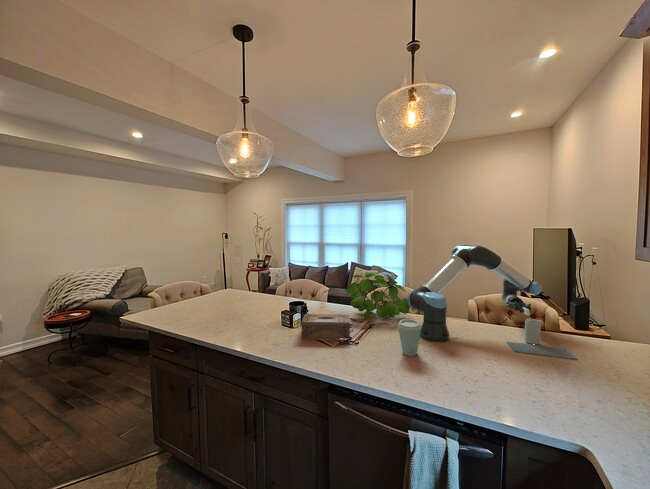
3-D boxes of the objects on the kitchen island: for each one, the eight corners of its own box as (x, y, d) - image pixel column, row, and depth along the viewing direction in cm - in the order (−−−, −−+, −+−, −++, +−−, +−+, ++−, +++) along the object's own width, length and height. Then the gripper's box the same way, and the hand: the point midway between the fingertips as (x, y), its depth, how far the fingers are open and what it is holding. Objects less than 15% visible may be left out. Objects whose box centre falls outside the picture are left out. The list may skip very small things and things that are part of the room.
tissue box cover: (301, 340, 145) (301, 321, 145) (305, 330, 159) (305, 313, 159) (349, 341, 143) (349, 322, 143) (348, 331, 158) (348, 314, 157)
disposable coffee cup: (422, 359, 122) (422, 326, 121) (398, 356, 124) (398, 324, 123) (419, 349, 132) (419, 319, 132) (396, 347, 134) (396, 317, 134)
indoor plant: (397, 296, 214) (406, 265, 199) (406, 337, 178) (419, 303, 163) (342, 289, 215) (348, 257, 200) (341, 329, 179) (347, 294, 164)
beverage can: (525, 344, 138) (526, 320, 137) (523, 339, 143) (524, 317, 143) (541, 346, 135) (542, 322, 134) (538, 341, 140) (539, 319, 140)
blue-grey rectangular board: (514, 351, 129) (514, 350, 129) (506, 342, 140) (506, 341, 140) (577, 359, 120) (577, 358, 120) (564, 349, 131) (564, 348, 131)
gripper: (527, 308, 166) (542, 320, 144) (502, 307, 170) (513, 318, 148) (527, 296, 165) (542, 307, 143) (502, 295, 170) (513, 305, 148)
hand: (528, 312), depth 146 cm, fingers closed
